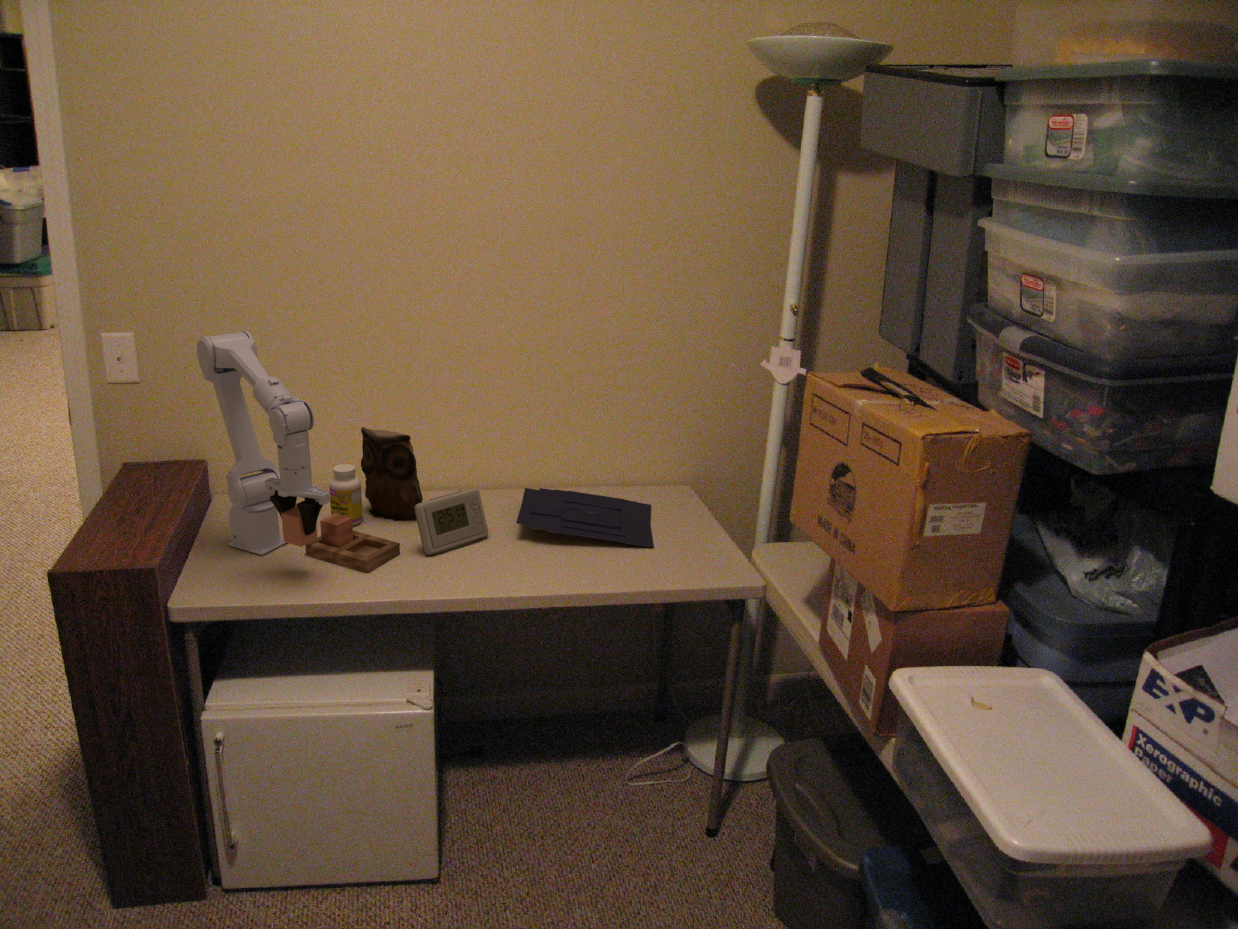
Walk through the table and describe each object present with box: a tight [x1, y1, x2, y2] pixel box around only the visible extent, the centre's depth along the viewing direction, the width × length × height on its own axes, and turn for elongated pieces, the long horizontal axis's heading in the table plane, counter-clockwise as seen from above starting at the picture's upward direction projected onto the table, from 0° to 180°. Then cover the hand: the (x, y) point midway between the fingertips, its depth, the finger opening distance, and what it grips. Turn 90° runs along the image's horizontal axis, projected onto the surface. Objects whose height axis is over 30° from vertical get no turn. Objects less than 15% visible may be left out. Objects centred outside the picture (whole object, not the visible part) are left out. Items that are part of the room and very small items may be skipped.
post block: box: [280, 506, 318, 548], centre depth 186 cm, size 4×4×6 cm
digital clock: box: [414, 487, 489, 556], centre depth 203 cm, size 16×9×11 cm, turn 122°
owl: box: [360, 426, 424, 522], centre depth 214 cm, size 13×13×20 cm
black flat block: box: [515, 487, 655, 548], centre depth 216 cm, size 24×30×4 cm
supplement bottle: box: [328, 463, 363, 527], centre depth 210 cm, size 7×7×13 cm
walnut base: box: [304, 513, 401, 574], centre depth 196 cm, size 16×10×7 cm, turn 64°
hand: (300, 530), depth 186 cm, fingers closed on post block, 4 cm apart
